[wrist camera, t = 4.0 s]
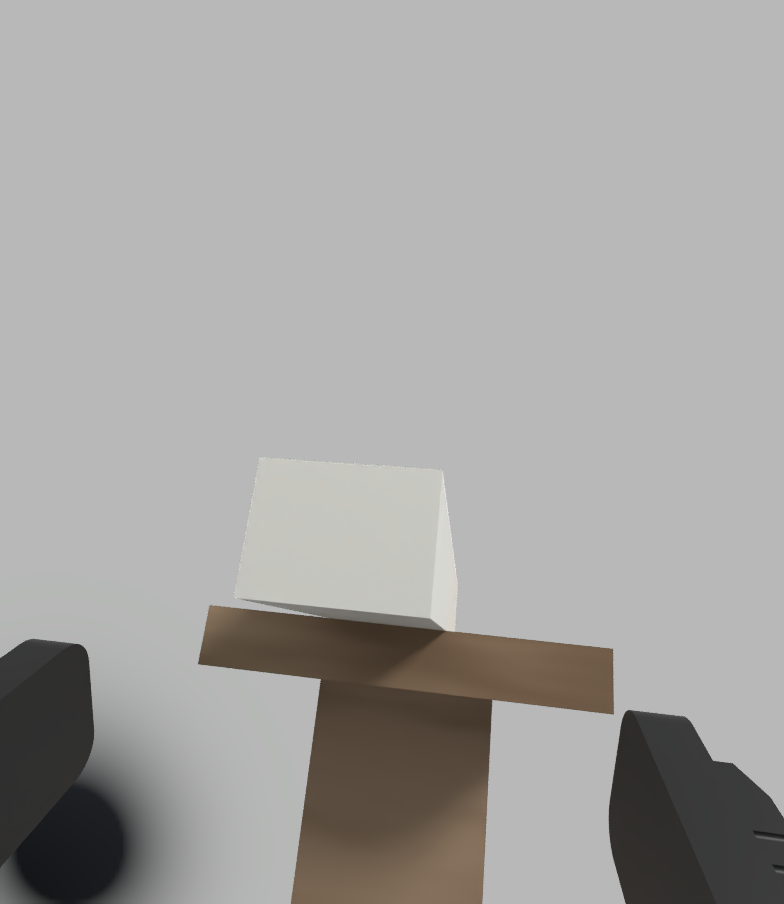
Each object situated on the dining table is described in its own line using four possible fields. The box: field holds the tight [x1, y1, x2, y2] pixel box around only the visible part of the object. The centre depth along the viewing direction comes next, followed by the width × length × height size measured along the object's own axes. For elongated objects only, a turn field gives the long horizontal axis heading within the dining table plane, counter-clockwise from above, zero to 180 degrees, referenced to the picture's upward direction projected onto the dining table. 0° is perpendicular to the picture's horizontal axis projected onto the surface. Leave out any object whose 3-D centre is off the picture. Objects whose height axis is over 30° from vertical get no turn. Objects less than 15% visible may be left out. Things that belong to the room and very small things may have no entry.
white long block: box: [234, 457, 458, 632], centre depth 25 cm, size 27×4×4 cm, turn 173°
